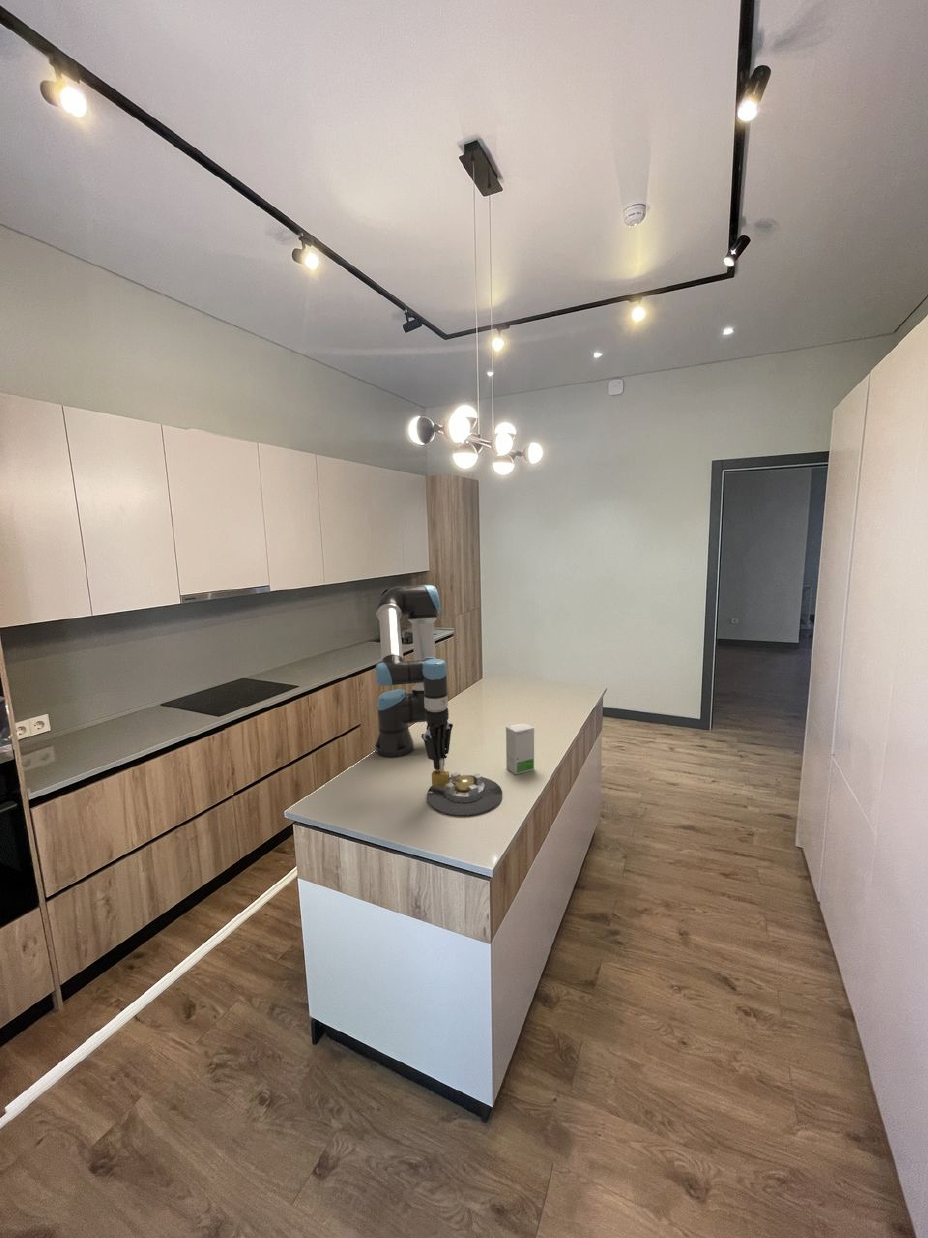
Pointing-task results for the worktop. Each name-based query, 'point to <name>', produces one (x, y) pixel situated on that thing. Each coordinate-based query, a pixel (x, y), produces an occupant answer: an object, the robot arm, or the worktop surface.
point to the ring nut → (449, 786)
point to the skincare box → (520, 748)
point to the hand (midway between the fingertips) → (439, 777)
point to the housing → (473, 808)
